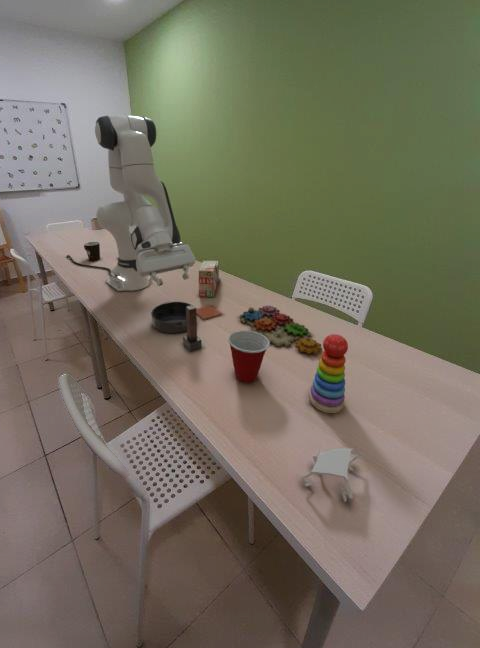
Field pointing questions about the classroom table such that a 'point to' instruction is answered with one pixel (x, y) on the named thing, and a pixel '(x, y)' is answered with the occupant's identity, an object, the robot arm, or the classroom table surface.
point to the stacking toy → (330, 376)
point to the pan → (170, 317)
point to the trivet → (207, 312)
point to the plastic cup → (247, 353)
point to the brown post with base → (191, 330)
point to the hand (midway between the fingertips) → (173, 281)
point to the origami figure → (334, 466)
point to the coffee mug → (93, 250)
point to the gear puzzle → (280, 328)
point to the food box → (208, 278)
